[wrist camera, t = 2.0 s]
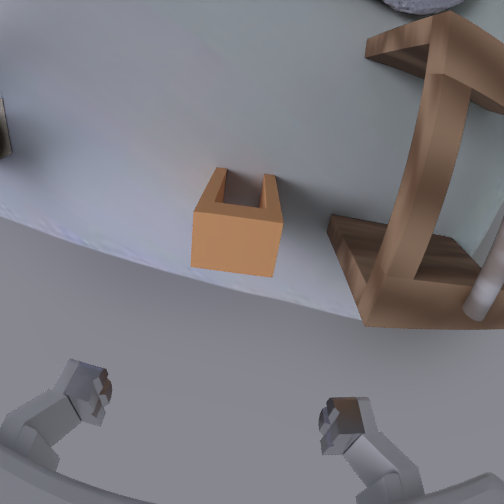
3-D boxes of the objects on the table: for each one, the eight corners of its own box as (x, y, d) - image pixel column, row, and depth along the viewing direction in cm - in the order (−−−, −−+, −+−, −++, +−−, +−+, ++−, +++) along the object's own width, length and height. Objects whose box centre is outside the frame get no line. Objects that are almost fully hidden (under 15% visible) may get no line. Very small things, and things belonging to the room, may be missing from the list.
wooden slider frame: (367, 39, 21) (471, 5, 7) (492, 95, 22) (602, 126, 8) (326, 232, 31) (372, 348, 17) (446, 252, 32) (517, 343, 18)
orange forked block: (216, 167, 28) (193, 211, 18) (274, 175, 28) (283, 223, 19) (212, 206, 30) (190, 266, 20) (268, 214, 30) (272, 277, 21)
